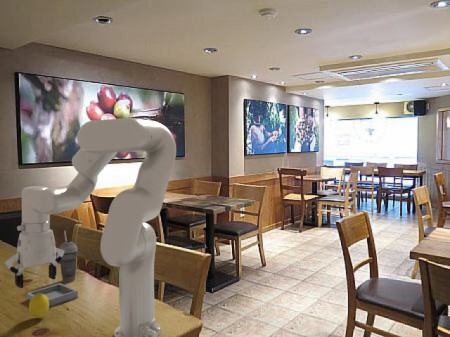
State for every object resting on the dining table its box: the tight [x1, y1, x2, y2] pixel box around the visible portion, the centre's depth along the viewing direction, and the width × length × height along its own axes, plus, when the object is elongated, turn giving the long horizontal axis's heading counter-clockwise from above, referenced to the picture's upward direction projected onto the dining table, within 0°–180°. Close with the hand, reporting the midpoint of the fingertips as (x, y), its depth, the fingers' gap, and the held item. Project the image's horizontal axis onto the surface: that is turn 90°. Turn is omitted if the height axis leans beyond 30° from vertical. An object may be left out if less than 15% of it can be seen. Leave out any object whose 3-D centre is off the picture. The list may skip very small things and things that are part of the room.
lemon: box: [28, 293, 50, 319], centre depth 116 cm, size 6×6×8 cm
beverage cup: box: [58, 230, 79, 283], centre depth 149 cm, size 7×7×20 cm
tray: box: [26, 282, 79, 308], centre depth 131 cm, size 12×12×2 cm
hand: (36, 282), depth 115 cm, fingers open, 9 cm apart
